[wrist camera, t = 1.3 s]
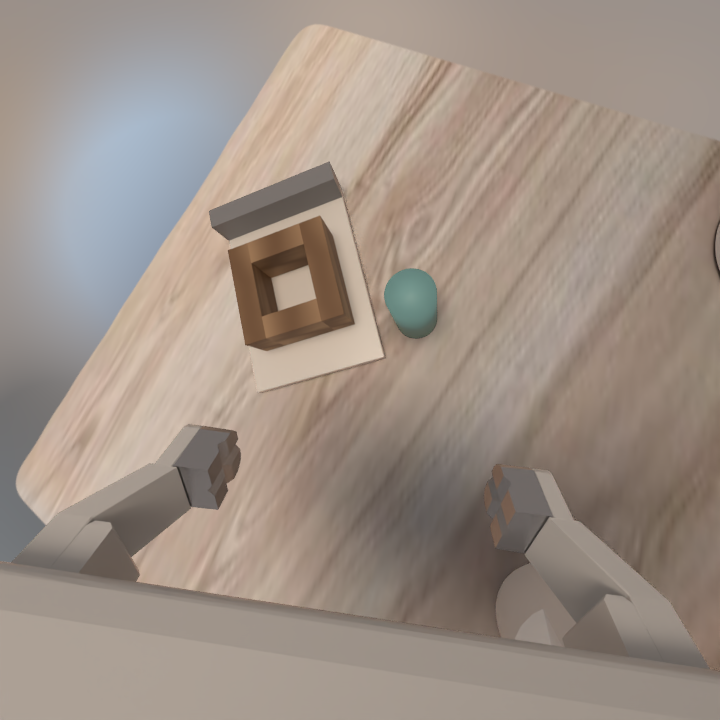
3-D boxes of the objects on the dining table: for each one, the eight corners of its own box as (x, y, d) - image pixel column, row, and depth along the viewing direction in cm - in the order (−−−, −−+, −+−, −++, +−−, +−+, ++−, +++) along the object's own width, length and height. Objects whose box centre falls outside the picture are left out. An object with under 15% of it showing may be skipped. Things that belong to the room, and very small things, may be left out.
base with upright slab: (630, 680, 26) (787, 908, 14) (509, 681, 28) (561, 883, 16) (597, 557, 27) (715, 672, 16) (484, 565, 29) (516, 674, 17)
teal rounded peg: (430, 294, 33) (428, 261, 25) (441, 331, 32) (443, 310, 25) (392, 306, 34) (378, 278, 26) (402, 343, 33) (391, 325, 25)
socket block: (332, 235, 35) (320, 215, 31) (354, 324, 33) (344, 313, 29) (249, 266, 37) (227, 250, 33) (266, 351, 35) (245, 344, 31)
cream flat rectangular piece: (340, 186, 37) (329, 161, 33) (385, 358, 33) (378, 352, 29) (231, 229, 39) (208, 210, 36) (261, 392, 36) (240, 391, 32)
